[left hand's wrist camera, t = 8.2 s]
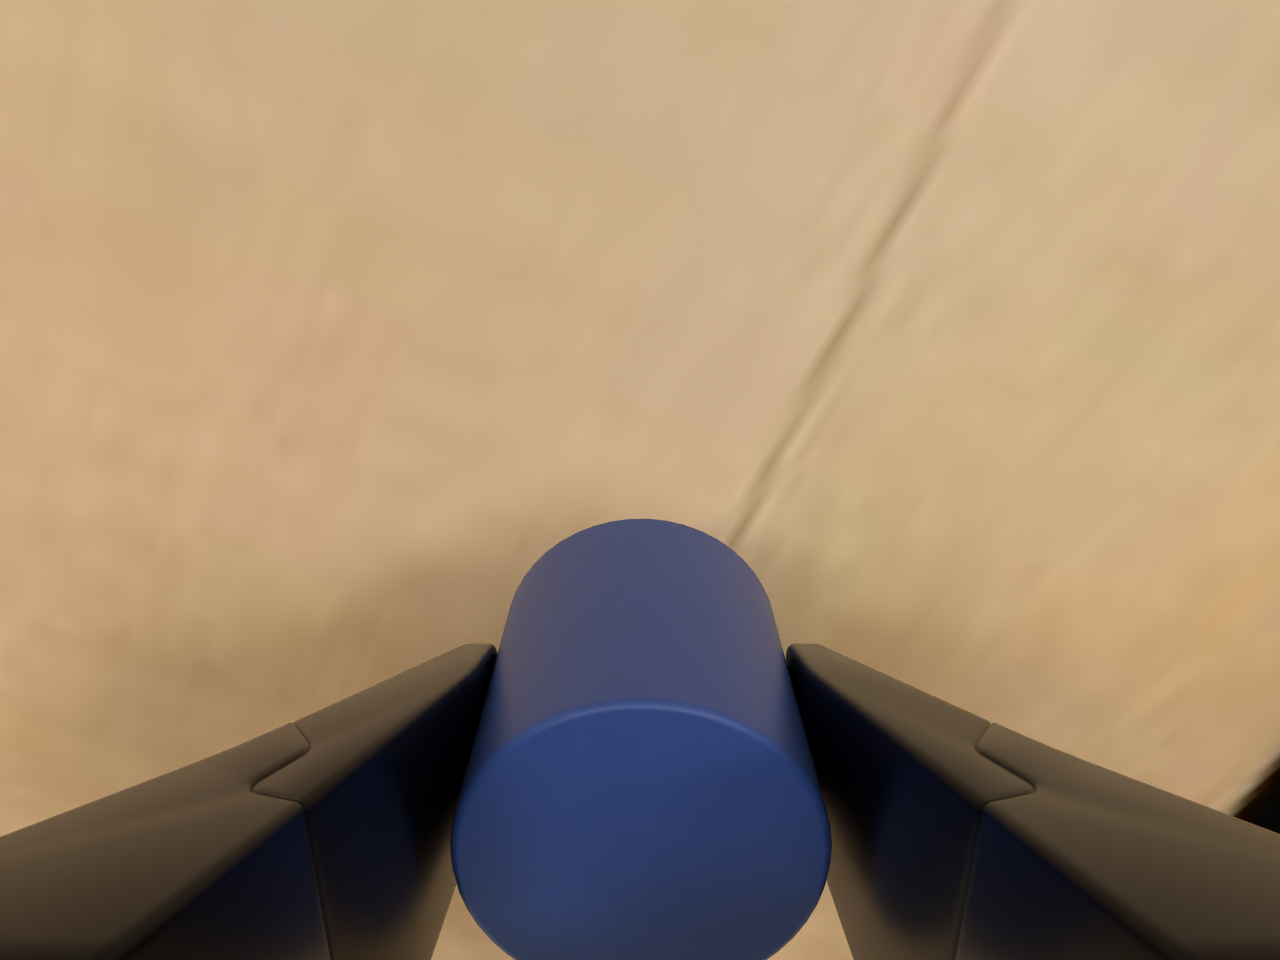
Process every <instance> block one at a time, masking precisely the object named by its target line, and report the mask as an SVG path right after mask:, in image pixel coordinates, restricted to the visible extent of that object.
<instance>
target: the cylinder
mask: <svg viewBox="0 0 1280 960" xmlns="http://www.w3.org/2000/svg"><path fill="white" fill-rule="evenodd" d="M831 850H832V839H831V828H830V822H829V818H828V815H827V811H826V807H825V803H824V800H823V796H822V792H821V789H820V785H819V781H818V778H817V774H816V770H815V767H814V763H813V759H812V756H811V752H810V748H809V744H808V741H807V737H806V733H805V730H804V726H803V722H802V719H801V715H800V711H799V708H798V704H797V700H796V697H795V693H794V689H793V686H792V682H791V678H790V675H789V671H788V667H787V664H786V660H785V656H784V652H783V649H782V645H781V641H780V638H779V634H778V630H777V627H776V623H775V619H774V616H773V612H772V608H771V605H770V601H769V599H768V597H767V594H766V592H765V590H764V587H763V586H762V584H761V582H760V581H759V579H758V578H757V576H756V574H755V573H754V572H753V571H752V569H751V568H750V567H749V566H748V565H747V563H746V562H745V561H744V560H743V559H742V558H741V557H740V556H738V555H737V554H736V553H735V552H734V551H733V550H732V549H730V548H729V547H728V546H726V545H725V544H723V543H722V542H720V541H719V540H717V539H715V538H713V537H711V536H710V535H708V534H706V533H704V532H702V531H699V530H696V529H694V528H691V527H688V526H685V525H682V524H678V523H673V522H669V521H663V520H653V519H627V520H620V521H612V522H608V523H604V524H600V525H597V526H593V527H590V528H588V529H585V530H583V531H580V532H578V533H576V534H574V535H572V536H570V537H568V538H567V539H565V540H563V541H561V542H560V543H558V544H557V545H556V546H554V547H553V548H551V549H550V550H549V551H547V552H546V553H545V554H544V555H543V556H542V557H541V558H540V559H539V560H538V561H537V562H536V563H535V564H534V565H533V566H532V568H531V569H530V570H529V572H528V573H527V574H526V575H525V577H524V578H523V580H522V582H521V584H520V585H519V587H518V589H517V591H516V593H515V596H514V598H513V601H512V603H511V606H510V610H509V614H508V617H507V621H506V625H505V628H504V632H503V636H502V639H501V643H500V647H499V651H498V654H497V658H496V662H495V665H494V669H493V673H492V676H491V680H490V684H489V688H488V691H487V695H486V699H485V702H484V706H483V710H482V713H481V717H480V721H479V725H478V728H477V732H476V736H475V739H474V743H473V747H472V750H471V754H470V758H469V762H468V765H467V769H466V773H465V776H464V780H463V784H462V787H461V791H460V795H459V799H458V802H457V806H456V810H455V814H454V819H453V823H452V828H451V841H450V853H451V861H452V869H453V872H454V876H455V879H456V882H457V886H458V889H459V892H460V894H461V896H462V899H463V901H464V903H465V905H466V907H467V909H468V911H469V912H470V914H471V915H472V917H473V918H474V920H475V921H476V923H477V924H478V926H479V927H480V928H481V929H482V930H483V931H484V932H485V933H486V935H487V936H488V937H489V938H490V939H491V940H492V941H493V942H494V943H495V944H496V945H497V946H499V947H500V948H501V949H502V950H503V951H504V952H506V953H507V954H508V955H509V956H511V957H512V958H514V959H515V960H767V959H768V958H770V957H771V956H772V955H774V954H775V953H777V952H778V951H779V950H780V949H781V948H782V947H783V946H784V945H786V944H787V943H788V942H789V941H790V940H791V939H792V938H793V937H794V936H795V935H796V934H797V932H798V931H799V930H800V929H801V928H802V926H803V925H804V924H805V923H806V922H807V920H808V918H809V917H810V915H811V913H812V912H813V910H814V909H815V907H816V905H817V903H818V901H819V899H820V896H821V894H822V892H823V889H824V887H825V883H826V879H827V875H828V871H829V867H830V862H831Z"/></svg>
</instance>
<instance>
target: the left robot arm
mask: <svg viewBox="0 0 1280 960" xmlns="http://www.w3.org/2000/svg"><path fill="white" fill-rule="evenodd" d="M496 658H497V650H496V648H495V646H494V645H492V644H465V645H462V646H460V647H458V648H456V649H454V650H451V651H449V652H447V653H445V654H443V655H441V656H438V657H436V658H434V659H432V660H430V661H427V662H425V663H423V664H421V665H419V666H416V667H414V668H412V669H410V670H408V671H405V672H403V673H401V674H399V675H397V676H394V677H392V678H390V679H388V680H386V681H383V682H381V683H379V684H377V685H375V686H372V687H370V688H368V689H366V690H364V691H361V692H359V693H357V694H355V695H353V696H350V697H348V698H346V699H344V700H342V701H339V702H337V703H335V704H333V705H331V706H328V707H326V708H324V709H322V710H320V711H317V712H315V713H313V714H311V715H309V716H306V717H304V718H302V719H300V720H298V721H296V722H295V723H294V724H293V723H288V724H286V725H284V726H282V727H280V728H278V729H275V730H273V731H271V732H269V733H266V734H264V735H262V736H259V737H257V738H255V739H252V740H250V741H248V742H245V743H243V744H241V745H239V746H236V747H234V748H231V749H229V750H226V751H224V752H221V753H219V754H216V755H214V756H211V757H209V758H206V759H204V760H201V761H198V762H196V763H193V764H191V765H188V766H186V767H183V768H180V769H178V770H175V771H172V772H170V773H167V774H165V775H162V776H159V777H157V778H154V779H151V780H149V781H146V782H144V783H141V784H138V785H136V786H133V787H130V788H128V789H125V790H123V791H120V792H117V793H115V794H112V795H109V796H107V797H104V798H101V799H99V800H96V801H94V802H91V803H88V804H86V805H83V806H80V807H78V808H75V809H73V810H70V811H67V812H65V813H62V814H59V815H57V816H54V817H52V818H49V819H46V820H44V821H41V822H38V823H36V824H33V825H31V826H28V827H25V828H23V829H20V830H17V831H15V832H12V833H9V834H7V835H4V836H2V837H0V960H431V957H432V954H433V952H434V949H435V946H436V943H437V940H438V937H439V934H440V931H441V928H442V925H443V922H444V919H445V916H446V913H447V910H448V907H449V904H450V901H451V898H452V895H453V892H454V889H455V886H456V883H457V882H456V879H455V876H454V872H453V869H452V861H451V853H450V841H451V828H452V823H453V819H454V814H455V810H456V806H457V802H458V799H459V795H460V791H461V787H462V784H463V780H464V776H465V773H466V769H467V765H468V762H469V758H470V754H471V750H472V747H473V743H474V739H475V736H476V732H477V728H478V725H479V721H480V717H481V713H482V710H483V706H484V702H485V699H486V695H487V691H488V688H489V684H490V680H491V676H492V673H493V669H494V665H495V662H496ZM786 664H787V667H788V671H789V675H790V678H791V682H792V686H793V689H794V693H795V697H796V700H797V704H798V708H799V711H800V715H801V719H802V722H803V726H804V730H805V733H806V737H807V741H808V744H809V748H810V752H811V756H812V759H813V763H814V767H815V770H816V774H817V778H818V781H819V785H820V789H821V792H822V796H823V800H824V803H825V807H826V811H827V815H828V818H829V822H830V828H831V839H832V850H831V862H830V867H829V871H828V875H827V879H826V880H827V883H828V886H829V889H830V892H831V895H832V898H833V901H834V903H835V906H836V909H837V912H838V915H839V918H840V921H841V924H842V927H843V930H844V933H845V936H846V939H847V942H848V944H849V947H850V950H851V953H852V956H853V959H854V960H1280V834H1277V833H1275V832H1272V831H1270V830H1267V829H1264V828H1262V827H1259V826H1256V825H1254V824H1251V823H1248V822H1246V821H1243V820H1240V819H1238V818H1235V817H1233V816H1230V815H1227V814H1225V813H1222V812H1219V811H1217V810H1214V809H1211V808H1209V807H1206V806H1203V805H1201V804H1198V803H1195V802H1193V801H1190V800H1188V799H1185V798H1182V797H1180V796H1177V795H1174V794H1172V793H1169V792H1166V791H1164V790H1161V789H1158V788H1156V787H1153V786H1150V785H1148V784H1145V783H1143V782H1140V781H1137V780H1135V779H1132V778H1129V777H1127V776H1124V775H1121V774H1119V773H1116V772H1113V771H1111V770H1108V769H1105V768H1103V767H1100V766H1098V765H1095V764H1092V763H1090V762H1087V761H1085V760H1082V759H1080V758H1077V757H1074V756H1072V755H1069V754H1067V753H1064V752H1062V751H1059V750H1057V749H1054V748H1052V747H1049V746H1047V745H1045V744H1042V743H1040V742H1038V741H1035V740H1033V739H1031V738H1028V737H1026V736H1024V735H1021V734H1019V733H1017V732H1014V731H1012V730H1010V729H1008V728H1005V727H1003V726H1001V725H999V724H996V723H992V724H991V723H990V722H989V721H987V720H985V719H983V718H981V717H978V716H976V715H974V714H972V713H970V712H967V711H965V710H963V709H961V708H958V707H956V706H954V705H952V704H950V703H947V702H945V701H943V700H941V699H938V698H936V697H934V696H932V695H930V694H927V693H925V692H923V691H921V690H919V689H916V688H914V687H912V686H910V685H907V684H905V683H903V682H901V681H899V680H896V679H894V678H892V677H890V676H888V675H885V674H883V673H881V672H879V671H876V670H874V669H872V668H870V667H868V666H865V665H863V664H861V663H859V662H857V661H854V660H852V659H850V658H848V657H845V656H843V655H841V654H839V653H837V652H834V651H832V650H830V649H828V648H825V647H823V646H821V645H818V644H791V645H790V646H789V647H788V649H787V653H786Z"/></svg>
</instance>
